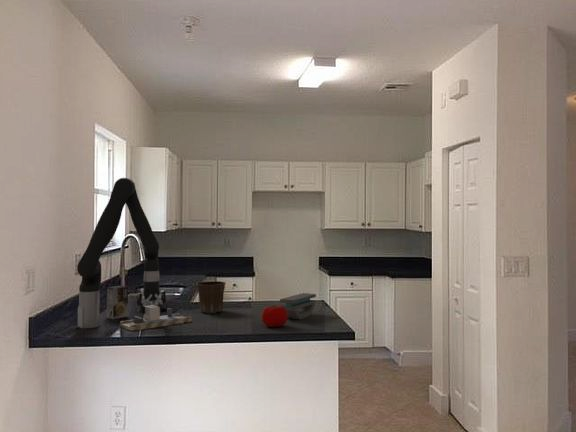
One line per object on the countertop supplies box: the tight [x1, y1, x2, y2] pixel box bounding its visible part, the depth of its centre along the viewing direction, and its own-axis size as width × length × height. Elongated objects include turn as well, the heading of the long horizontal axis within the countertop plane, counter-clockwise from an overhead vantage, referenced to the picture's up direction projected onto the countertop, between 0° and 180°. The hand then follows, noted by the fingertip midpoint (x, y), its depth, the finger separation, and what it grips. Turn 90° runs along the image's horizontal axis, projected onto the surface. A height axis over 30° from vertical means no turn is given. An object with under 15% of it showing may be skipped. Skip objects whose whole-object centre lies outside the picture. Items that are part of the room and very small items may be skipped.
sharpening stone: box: [279, 292, 317, 320], centre depth 276 cm, size 25×8×11 cm, turn 150°
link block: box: [143, 305, 161, 321], centre depth 256 cm, size 5×7×6 cm
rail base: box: [119, 313, 193, 332], centre depth 258 cm, size 32×13×4 cm, turn 131°
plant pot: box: [196, 280, 227, 314], centre depth 292 cm, size 16×16×16 cm
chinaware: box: [142, 295, 161, 306], centre depth 300 cm, size 15×15×8 cm
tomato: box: [261, 304, 288, 328], centre depth 252 cm, size 11×13×10 cm
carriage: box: [142, 307, 177, 323], centre depth 258 cm, size 16×9×5 cm, turn 131°
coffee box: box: [106, 285, 129, 320], centre depth 276 cm, size 9×6×16 cm
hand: (151, 313), depth 256 cm, fingers open, 8 cm apart
